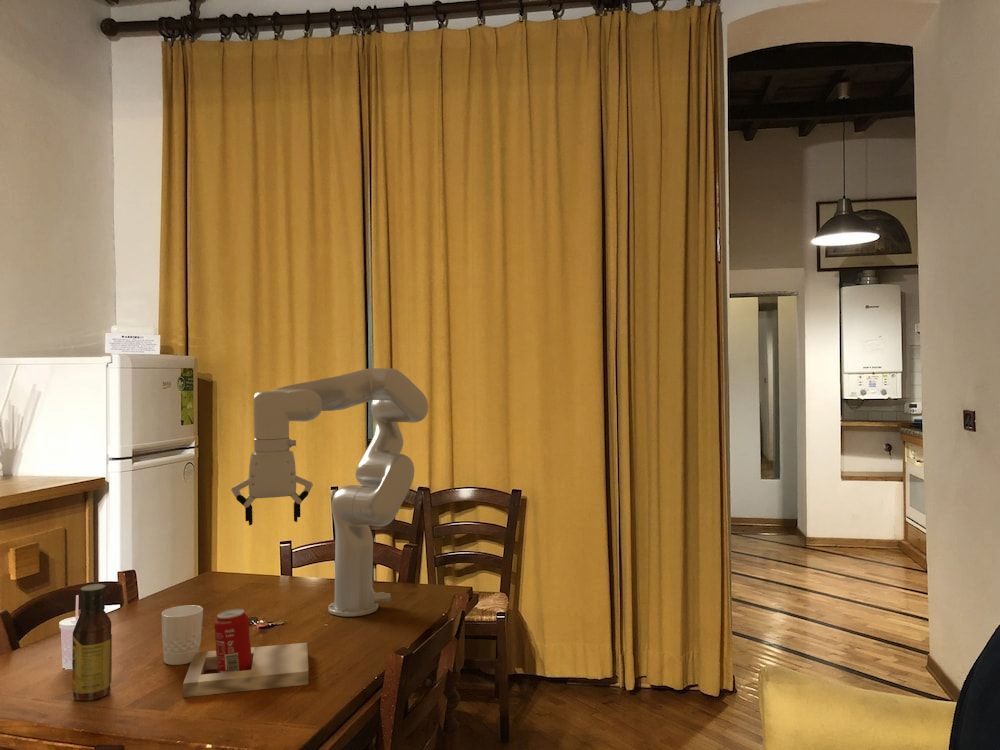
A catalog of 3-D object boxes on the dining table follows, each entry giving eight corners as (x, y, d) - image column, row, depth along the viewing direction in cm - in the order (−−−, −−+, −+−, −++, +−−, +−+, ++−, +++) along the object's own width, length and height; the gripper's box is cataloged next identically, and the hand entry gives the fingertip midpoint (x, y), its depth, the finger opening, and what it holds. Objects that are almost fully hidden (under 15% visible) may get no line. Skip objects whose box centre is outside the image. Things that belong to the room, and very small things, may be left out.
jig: (306, 654, 150) (306, 642, 150) (308, 684, 134) (308, 671, 134) (194, 664, 143) (194, 652, 144) (182, 697, 128) (182, 683, 128)
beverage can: (257, 666, 141) (253, 606, 141) (243, 680, 135) (239, 617, 135) (227, 667, 142) (222, 608, 142) (212, 681, 135) (207, 619, 135)
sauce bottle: (82, 689, 131) (85, 581, 132) (117, 688, 132) (119, 580, 132) (63, 704, 125) (66, 591, 125) (100, 703, 125) (103, 590, 126)
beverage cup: (96, 665, 143) (98, 595, 143) (62, 673, 138) (63, 601, 139) (88, 657, 147) (89, 589, 147) (54, 665, 143) (56, 595, 143)
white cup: (210, 655, 149) (211, 607, 149) (182, 668, 141) (183, 618, 142) (180, 650, 151) (181, 603, 152) (151, 663, 144) (152, 614, 144)
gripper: (311, 442, 164) (312, 516, 165) (231, 446, 159) (233, 522, 159) (312, 446, 157) (314, 522, 157) (229, 449, 152) (231, 529, 152)
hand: (273, 522), depth 158 cm, fingers open, 9 cm apart
